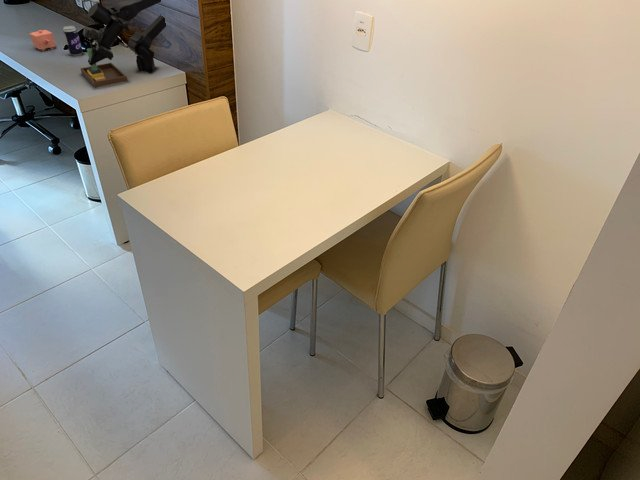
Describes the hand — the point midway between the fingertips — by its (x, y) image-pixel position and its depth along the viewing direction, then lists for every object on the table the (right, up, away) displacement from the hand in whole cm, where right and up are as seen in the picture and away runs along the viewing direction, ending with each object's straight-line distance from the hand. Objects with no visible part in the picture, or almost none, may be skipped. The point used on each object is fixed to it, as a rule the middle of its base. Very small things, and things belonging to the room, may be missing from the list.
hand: (89, 63), depth 199 cm
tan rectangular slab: (+3, -6, +3) cm, 8 cm away
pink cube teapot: (-37, +19, +34) cm, 54 cm away
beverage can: (-19, +15, +29) cm, 38 cm away
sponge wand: (+1, -4, +5) cm, 6 cm away
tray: (+3, -4, +6) cm, 8 cm away
